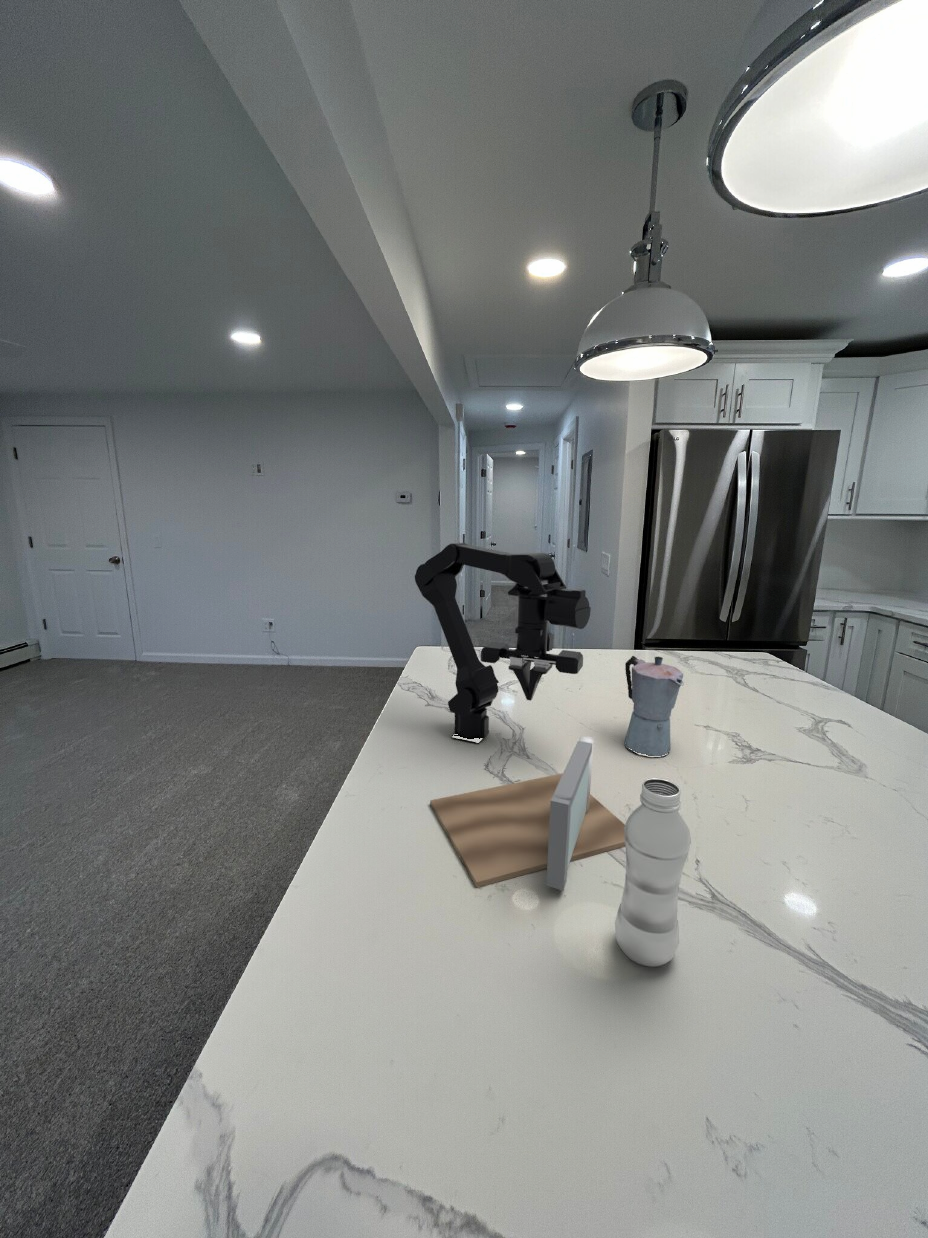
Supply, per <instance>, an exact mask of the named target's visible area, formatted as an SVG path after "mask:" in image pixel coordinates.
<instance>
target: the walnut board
mask: <svg viewBox="0 0 928 1238" xmlns="http://www.w3.org/2000/svg"><path fill="white" fill-rule="evenodd" d="M562 775H563V772H562V773H557V774H553V775H548V776H543V777H538V778H533V779H528V780H523V781H519V782H512V783H509V784H504V785H500V786H499V785H498V786H494V787H489V788H484V789H479V790H475V791H469V792H464V793H460V794H455V795H451V796H446V797H440V798H435V799H431V800H430V801H429V803H430V804H429V805H430V807H431V809H432V810H433V812H434V814H435V816H436V818H437V820H438V821H439V823H440V825H441V827H442V828H443V830H444V832H445V834H446V835H447V837H448V839H449V841H450V843H451V844H452V846H453V848H454V851H455V852H456V853H457V855H458V857H459V859H460V861H461V862H462V864H463V866H464V868H465V869H466V872H467V873H468V875H469V877H470V878H471V880H472V882H473V884H474V886H475V887H476V888H480V887H483V886H485V887H486V886H488V885H492V884H495V883H499V882H503V881H506V880H510V879H513V878H516V877H520V876H523V875H526V874H531V873H535V872H539V871H542V870H545V869H546V870H547V864H548V843H549V823H550V803H551V799H552V796H553V794H554V792H555V790H556V788H557V786H558V783H559V781H560V779H561V777H562ZM624 847H625V823H624V822H623V821H622V820H621V819H619V818H618V817H617V816H616V815H615V814H614V813H613V812H611V811H610V810H609V809H608V808H607V807H606V806H604V804H602V803H601V801H599V800H598V799H596V797H594V796H593V795H592V794H591V793H590V800H589V811H588V812H586V813H585V816H584V819H583V822H582V825H581V828H580V832H579V835H578V838H577V841H576V844H575V847H574V850H573V853H572V856H571V859H570V863H571V862H574V861H577V860H582V859H584V858H589V857H591V856H595V855H599V854H602V853H603V854H604V853H606V852H610V851H613V850H618V849H621V848H624Z"/></svg>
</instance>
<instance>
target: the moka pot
mask: <svg viewBox="0 0 928 1238" xmlns="http://www.w3.org/2000/svg"><path fill="white" fill-rule="evenodd" d="M662 662H663V657H662V656H654V662H646V661H645V660H643V659H638V657H636V656H634V655H632V656H631V657H630V658H629V659H628V660H627V661H625V666H624V667H625V668H624V669H625V670H624V671H625V676H626V677H625V678H626V682H627V683H626V684H627V690H628V692H627V693H628V698H629V699H630V700H631V701H632V703H633V709H632V712H631V717H630V720H629V723H628V728H627V731H626V735H625V738H624V744H625V743H626V745H625V747H626V746H627V747H628V748H630V749H632V751H635V752H637V753H641V754H646V755H648V756H662V755H665V754H667V753H668V752H669V751H670V752H671V715H672V710H673V709H674V708H675V704H676V702H677V699H678V698H677V697H678V695H679V691H680V688H681V686H684V684H685V681H684V680H683V678H684V673H683V672H682V671H681V670H680V669H678V668H677V667H676V666H672V665H669V664H666V663H665V664H664V663H662ZM632 665H633V666H632ZM631 666H632V667H631ZM627 747H626V748H627ZM632 751H631V752H632Z"/></svg>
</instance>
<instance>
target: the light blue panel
mask: <svg viewBox="0 0 928 1238" xmlns="http://www.w3.org/2000/svg"><path fill="white" fill-rule="evenodd" d="M594 742H595V741H594V738H593V737H590V736H585V735H584V736H583V735H582V736H580V737H579V738H578V740H577V742H576V745H575V746H574V748H573V751H572V753H571V755H570V756H569V757H570V758H569V759H568V762H567V764H566V766H565V767H564V771H563V772H562V773H563V775H562V777H561V779H560V781H559V783H558V786H557V788H556V790H555V792H554V794H553V796H552V799H551V803H550V823H549V843H548V864H547V868H546V884H545V886H547V887H549V888H554V889H557V890H560V891H565V887H566V884H567V882H568V881H567V880H568V879H567V877H568V869H569V865H570V863H571V862H570V859H571V856H572V853H573V850H574V847H575V844H576V841H577V838H578V835H579V832H580V828H581V825H582V822H583V819H584V816H585V813H586V812H588V811H589V800H590V794H591V785H592V768H593V755H594V754H593V753H594Z"/></svg>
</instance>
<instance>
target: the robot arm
mask: <svg viewBox="0 0 928 1238" xmlns="http://www.w3.org/2000/svg"><path fill="white" fill-rule="evenodd" d="M464 566H468V567H471V568H477V569H480V570H485V571H489V572H494V573H498V574H501V575H503V576H504V577H506V578H507V579H508V580H509V581H511V582H513V583H515V585H514V586H513V587H512V588H511V589H509V590H508V591H507V594H508V596H513V597H514V596H515V597H517V610H516V611H517V615H516V627H514V630H515V631H514V633H515V634H516V647H515V649H512V648H510V646H509V643H504V642H497V641H491V642H489V643H488V644H486V645H485V646H483V647H482V648H481V651H480V659H479V656H478V654H477V651H476V649H475V647H474V643H473V642H472V638H471V635H470V633H469V630H468V628H467V626H466V623H465V621H464V618H463V615H462V612H461V610H460V607H459V605H458V602H457V599H456V595H457V588H458V587H457V586H458V584H457V579H456V577H457V576H458V575H459V574H460V573H461V572H462V570H463V569H464ZM414 582H415V585H416V586H417V588H418V590H419V592H420V594H421V596H422V597H423V598H424V599H425V600H427V601H428V603H430V604H431V605H432V607H433V608H434V611H435V613H436V616H437V619H438V622H439V624H440V627H441V629H442V632H443V634H444V638H445V641H446V642H447V646H448V648H449V651H450V653H451V656H452V658H453V661H454V664H455V667H456V676H455V688H456V691H457V693H456V694H455V695H454V696H453V697H452V698H450V700H448V701H447V705H448V710H449V713H453V714H454V733H455V734H458V735H454V736H460V737H463V738H467V739H474V738H479V739H480V738H484V739H485V738H486V737H487V735H488V734H489V733H490V730H489V729H490V727H489V725H490V724H489V723H490V721H489V720H490V717H489V715H487V714H488V711H487V710H488V707H490V706H492V704H493V701H494V700H495V699H496V698H497V696H498V693H499V686H498V684H499V683H500V681H499V680H498V679H497V676H496V674H495V671H494V667H493V666H492V665H491V664H496V663H497V662H499V660H500V659H508V660H509V666H508V670H509V671H512V672H513V674H514V675H515V677H516V678H517V680H518V683H519V684H520V688H521V689H522V691H523V695H524V697H525V699H526V701H532V700H533V698H534V695H535V693H536V691H537V688H538V685H539V683H540V680H541V678H542V677H543V675H546V674H547V673H548V672H549V671H550V670H551V669H552V668H553V666H555V668H556V670H557V671H558V672H559V673H564V674H570V675H576V674H579V672H580V671H581V669H582V668H583V666H584V654H582V652H581V651H577V650H576V651H573V650H568V649H567V650H566V649H562V650H561V651H560V652H559V653H558V654H554V653H548V652H550V651H553V648H554V647H553V646H554V637H555V634H553V633H551V632H550V626H549V625H554V626H558V627H566V628H571V629H578V630H583V629H585V627H586V626H587V624H588V622H589V620H590V616H591V612H592V611H591V609H592V608H591V606H590V602H589V600H588V599H589V598H588V597H586V595H587V593H586V592H587V591H586V590H585V589H580V588H579V589H570V588H567V586H566V584H565V583H564V581H563V579H562V577H561V576H560V574H559V573H558V570H557V569H556V565H555V561H554V560H553V558H552V556H551V555H550V554H548V553H546V552H523V553H522V552H521V553H520V552H518V553H515V552H514V553H512V552H507V551H500V550H497V549H491V548H486V547H482V546H481V547H480V546H476V545H471V544H468V543H465V542H456V543H449V544H447V545H446V546H445V547H444V548H443V549H442V550H441V551H440V552H438V553H436V554H435V555H433V556H432V557H431V558H429V559H427V560H426V561H425V562H424V563H422V564H419V566H418V567H417V569H416V571H415V574H414ZM484 663H488V664H489V663H490V664H489V665H487V666H486V665H485V664H484ZM532 663H533V665H534V666H533V667H532V666H531V665H532ZM531 667H532V668H531ZM451 736H453V735H452V734H451V735H450V737H451Z"/></svg>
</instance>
